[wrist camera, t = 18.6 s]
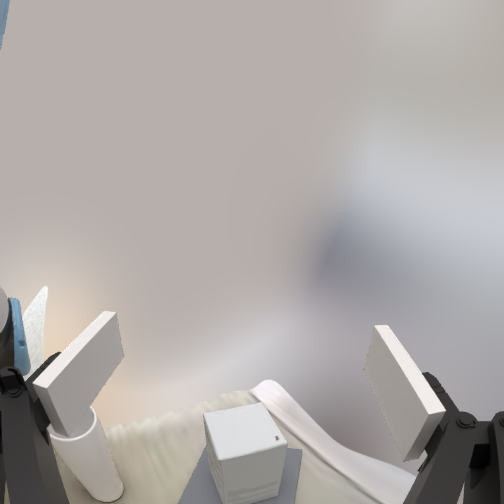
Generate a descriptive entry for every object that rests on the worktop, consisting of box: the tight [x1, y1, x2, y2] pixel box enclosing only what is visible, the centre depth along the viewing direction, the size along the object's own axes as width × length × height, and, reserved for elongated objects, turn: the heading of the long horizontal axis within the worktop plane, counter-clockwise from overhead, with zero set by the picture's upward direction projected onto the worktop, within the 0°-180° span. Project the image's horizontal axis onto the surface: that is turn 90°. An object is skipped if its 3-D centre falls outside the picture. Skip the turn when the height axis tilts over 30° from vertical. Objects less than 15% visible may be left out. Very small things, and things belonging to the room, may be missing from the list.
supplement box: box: [203, 402, 288, 504], centre depth 30 cm, size 7×7×13 cm
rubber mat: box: [178, 445, 302, 504], centre depth 31 cm, size 16×14×1 cm
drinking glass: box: [47, 406, 124, 502], centre depth 25 cm, size 7×7×15 cm
